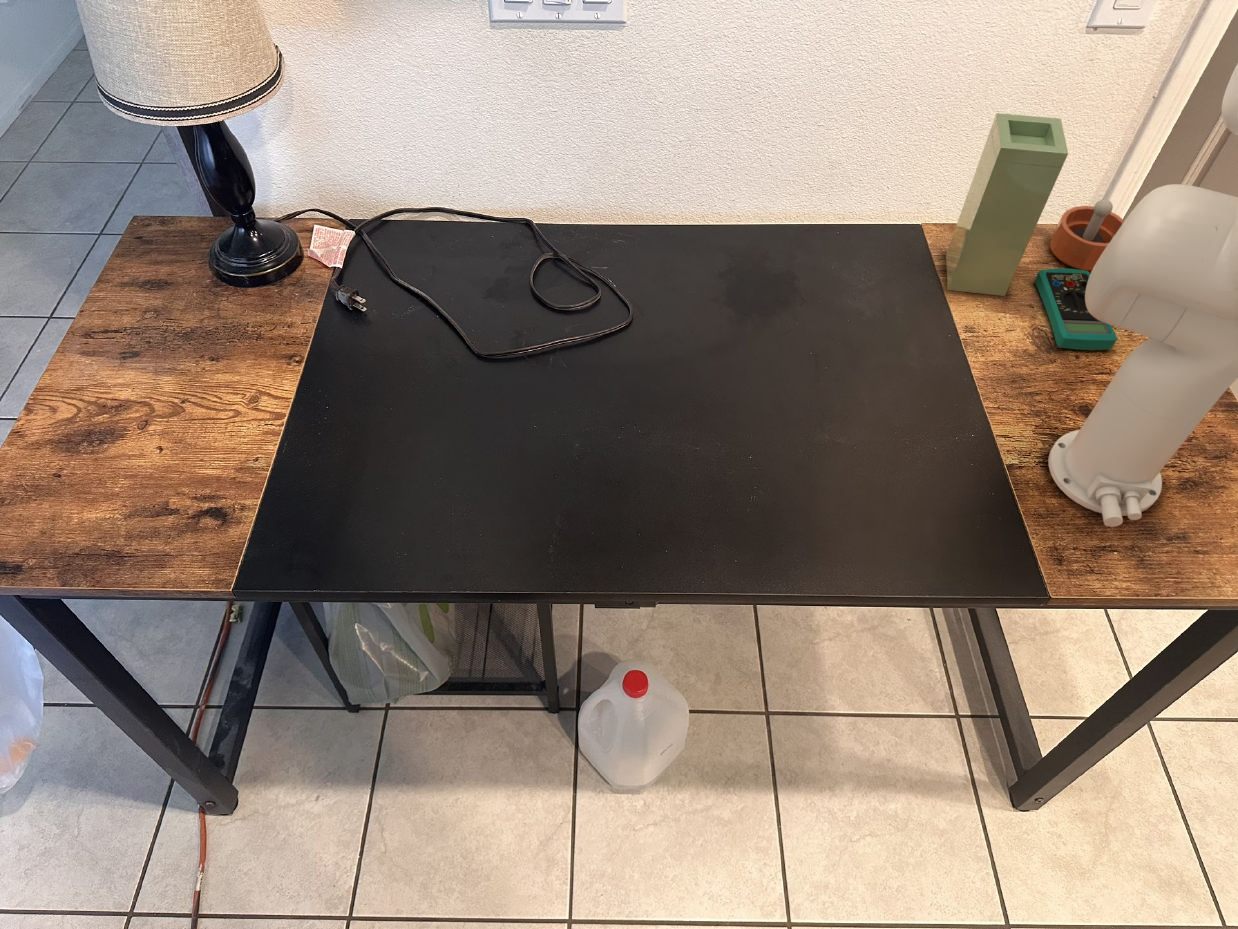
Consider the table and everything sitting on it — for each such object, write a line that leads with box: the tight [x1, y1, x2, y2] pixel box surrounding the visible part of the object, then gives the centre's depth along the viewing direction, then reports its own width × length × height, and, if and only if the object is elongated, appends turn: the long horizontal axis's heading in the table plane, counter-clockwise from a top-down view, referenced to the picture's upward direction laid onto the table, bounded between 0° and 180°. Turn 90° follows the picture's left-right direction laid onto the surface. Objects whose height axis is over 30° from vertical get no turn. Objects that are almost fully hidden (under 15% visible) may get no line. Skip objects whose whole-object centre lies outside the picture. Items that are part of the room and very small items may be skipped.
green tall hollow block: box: [945, 112, 1069, 297], centre depth 117 cm, size 8×8×23 cm
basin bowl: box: [1049, 205, 1125, 272], centre depth 127 cm, size 9×10×5 cm
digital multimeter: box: [1034, 267, 1118, 351], centre depth 120 cm, size 7×15×3 cm, turn 176°
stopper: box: [1073, 198, 1114, 243], centre depth 125 cm, size 4×4×8 cm
